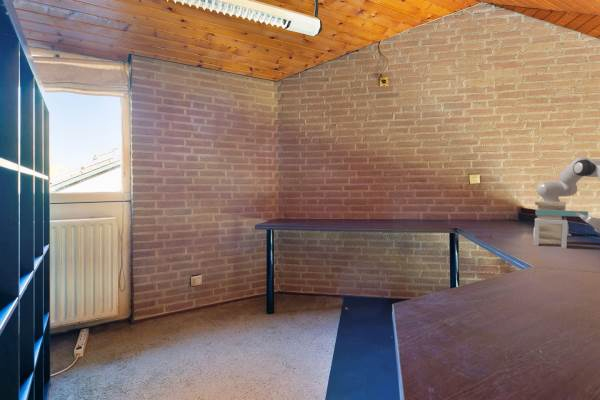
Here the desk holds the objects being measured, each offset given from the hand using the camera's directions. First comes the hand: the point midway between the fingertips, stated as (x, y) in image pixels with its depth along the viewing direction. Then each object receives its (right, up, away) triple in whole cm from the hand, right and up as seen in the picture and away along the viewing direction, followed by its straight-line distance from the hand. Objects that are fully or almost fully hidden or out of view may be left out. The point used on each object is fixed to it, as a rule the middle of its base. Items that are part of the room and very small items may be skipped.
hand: (575, 212), depth 182 cm
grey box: (-9, -20, +8) cm, 24 cm away
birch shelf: (-1, -20, +18) cm, 27 cm away
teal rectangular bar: (-5, -2, +4) cm, 7 cm away
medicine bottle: (+5, -19, +32) cm, 38 cm away
